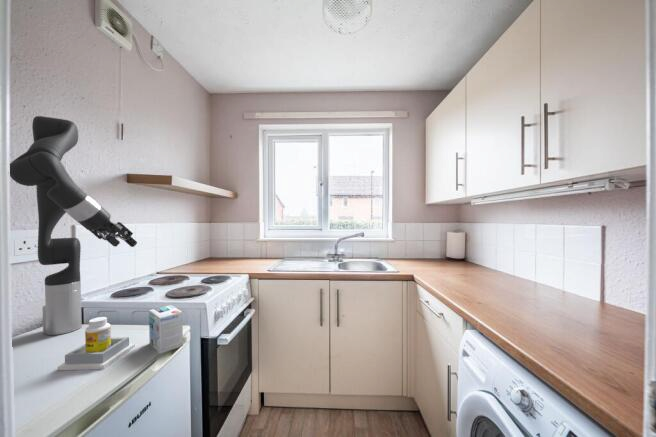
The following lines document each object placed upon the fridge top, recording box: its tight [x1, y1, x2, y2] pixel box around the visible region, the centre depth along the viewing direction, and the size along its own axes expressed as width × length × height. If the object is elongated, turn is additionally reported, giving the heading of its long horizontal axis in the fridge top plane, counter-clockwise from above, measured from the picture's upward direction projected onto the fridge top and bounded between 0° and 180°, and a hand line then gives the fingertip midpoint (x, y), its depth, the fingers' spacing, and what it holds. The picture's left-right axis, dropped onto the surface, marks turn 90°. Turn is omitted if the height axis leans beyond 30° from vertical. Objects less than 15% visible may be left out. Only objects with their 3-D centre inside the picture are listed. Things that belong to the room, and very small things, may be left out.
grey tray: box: [57, 336, 136, 371], centre depth 78 cm, size 12×12×4 cm
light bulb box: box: [148, 304, 184, 354], centre depth 85 cm, size 11×7×11 cm, turn 48°
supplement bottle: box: [84, 316, 112, 353], centre depth 78 cm, size 6×6×10 cm
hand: (126, 244), depth 96 cm, fingers open, 8 cm apart
